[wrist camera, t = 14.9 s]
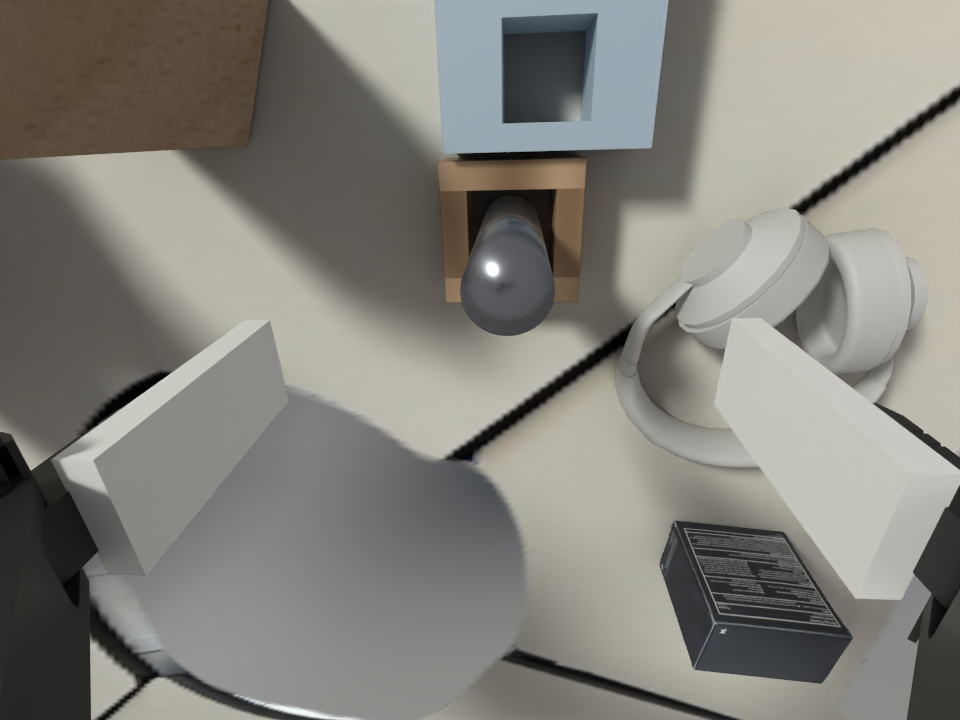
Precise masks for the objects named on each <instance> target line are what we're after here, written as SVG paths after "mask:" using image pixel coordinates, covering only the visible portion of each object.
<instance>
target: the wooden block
mask: <svg viewBox="0 0 960 720" xmlns="http://www.w3.org/2000/svg"><path fill="white" fill-rule="evenodd" d="M268 3H269V0H0V160H4V159H21V158H38V157H56V156H73V155H91V154H108V153H125V152H143V151H160V150H178V149H195V148H212V147H230V146H246V145H247V143H248V141H249V137H250V130H251V123H252V116H253V109H254V102H255V95H256V88H257V81H258V74H259V67H260V60H261V53H262V46H263V39H264V32H265V25H266V17H267V10H268Z"/></svg>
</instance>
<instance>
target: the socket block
mask: <svg viewBox="0 0 960 720" xmlns="http://www.w3.org/2000/svg"><path fill="white" fill-rule="evenodd" d="M434 1H435V19H436V37H437V55H438V73H439V91H440V110H441V128H442V146H443V154H451V153H488V152H526V151H563V150H601V149H638V148H652V140H653V132H654V123H655V114H656V106H657V97H658V88H659V79H660V71H661V62H662V53H663V45H664V36H665V27H666V18H667V10H668V1H669V0H434ZM571 31H586V38H585V56H584V74H583V92H582V110H581V121H567V122H535V123H504V35H505V34H527V33H549V32H571Z"/></svg>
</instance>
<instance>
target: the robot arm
mask: <svg viewBox="0 0 960 720" xmlns="http://www.w3.org/2000/svg"><path fill="white" fill-rule="evenodd" d="M287 403H288V397H287V392H286V388H285V384H284V379H283V375H282V371H281V366H280V362H279V357H278V353H277V349H276V344H275V340H274V336H273V331H272V327H271V323H270V320H245V321H243V322H242V323H240V324H239V325H238V326H236V327H235V328H233V329H232V330H231V331H229V332H228V333H226V334H225V335H224V336H222V337H221V338H219V339H218V340H217V341H215V342H214V343H213V344H211V345H210V346H208V347H207V348H206V349H204V350H203V351H201V352H200V353H199V354H197V355H196V356H194V357H193V358H192V359H190V360H189V361H187V362H186V363H185V364H183V365H182V366H180V367H179V368H178V369H176V370H175V371H173V372H172V373H171V374H169V375H168V376H167V377H165V378H164V379H162V380H161V381H160V382H158V383H157V384H155V385H154V386H153V387H151V388H150V389H148V390H147V391H146V392H144V393H143V394H141V395H140V396H139V397H137V398H136V399H134V400H133V401H132V402H130V403H129V404H128V405H126V406H124V407H122V408H120V409H118V410H116V411H114V412H113V413H112V414H110V415H109V416H107V417H106V418H105V419H103V420H102V421H100V422H99V423H97V426H93V427H92V428H90V429H89V430H88V431H86V432H85V433H83V434H82V437H78V438H76V439H75V440H74V441H72V442H71V443H69V444H68V445H67V446H65V447H64V448H62V449H61V450H60V451H58V452H57V453H55V454H54V455H53V456H51V457H50V458H48V459H47V460H45V461H44V462H43V463H41V464H40V465H38V466H37V467H36V468H34V469H33V470H31V471H30V469H29V467H28V465H27V463H26V461H25V460H24V458H23V456H22V454H21V452H20V450H19V448H18V446H17V445H16V443H15V441H14V439H13V437H12V435H11V434H7V433H4V432H0V720H91V690H90V611H89V580H88V578H87V576H86V574H85V572H84V570H83V568H82V567H83V566H84V565H85V564H86V563H87V562H88V561H89V560H90V559H91V558H92V557H93V556H94V555H95V554H96V553H97V552H98V554H99V556H100V558H101V560H102V562H103V564H104V566H105V568H106V570H107V572H108V574H110V575H140V576H141V575H143V576H146V575H147V574H148V573H149V571H150V570H151V569H152V568H153V566H154V565H155V564H156V563H157V562H158V560H159V559H160V558H161V557H162V555H163V554H164V553H165V552H166V551H167V549H168V548H169V547H170V546H171V545H172V543H173V542H174V541H175V540H176V538H177V537H178V536H179V535H180V534H181V532H182V531H183V530H184V529H185V527H186V526H187V525H188V524H189V523H190V521H191V520H192V519H193V518H194V516H195V515H196V514H197V513H198V512H199V510H200V509H201V508H202V507H203V505H204V504H205V503H206V502H207V501H208V499H209V498H210V497H211V496H212V495H213V493H214V492H215V491H216V490H217V488H218V487H219V486H220V485H221V484H222V482H223V481H224V480H225V479H226V477H227V476H228V475H229V474H230V473H231V471H232V470H233V469H234V468H235V466H236V465H237V464H238V463H239V461H240V460H241V459H242V458H243V457H244V455H245V454H246V453H247V452H248V450H249V449H250V448H251V447H252V445H253V444H254V443H255V442H256V441H257V439H258V438H259V437H260V436H261V435H262V433H263V432H264V431H265V430H266V429H267V427H268V426H269V425H270V424H271V422H272V421H273V420H274V419H275V417H276V416H277V415H278V414H279V413H280V411H281V410H282V409H283V408H284V406H285V405H286V404H287ZM714 406H715V407H716V408H717V410H718V411H719V412H720V414H721V415H722V417H723V418H724V419H725V421H726V422H727V423H728V425H729V426H730V427H731V429H732V430H733V432H734V433H735V434H736V436H737V437H738V438H739V440H740V441H741V443H742V444H743V445H744V447H745V448H746V449H747V451H748V452H749V454H750V455H751V456H752V458H753V459H754V460H755V462H756V463H757V464H758V466H759V467H760V469H761V470H762V471H763V473H764V474H765V475H766V477H767V478H768V480H769V481H770V482H771V484H772V485H773V486H774V488H775V489H776V491H777V492H778V493H779V495H780V496H781V497H782V499H783V500H784V502H785V503H786V504H787V506H788V507H789V508H790V510H791V511H792V512H793V514H794V515H795V517H796V518H797V519H798V521H799V522H800V523H801V525H802V526H803V528H804V529H805V530H806V532H807V533H808V534H809V536H810V537H811V539H812V540H813V541H814V543H815V544H816V545H817V547H818V548H819V549H820V551H821V552H822V554H823V555H824V556H825V558H826V559H827V560H828V562H829V563H830V565H831V566H832V567H833V569H834V570H835V571H836V573H837V574H838V576H839V577H840V578H841V580H842V581H843V582H844V584H845V585H846V586H847V588H848V589H849V591H850V592H851V593H852V595H853V596H854V597H855V599H882V600H902V598H903V596H904V594H905V592H906V590H907V588H908V586H909V584H910V582H911V580H912V578H913V576H914V574H915V575H916V577H918V579H919V580H920V581H921V582H922V583H923V584H924V585H925V586H926V588H927V589H928V590H929V591H930V592H931V593H932V594H931V596H930V598H929V600H928V602H927V604H926V605H925V607H924V609H923V611H922V613H921V615H920V617H919V619H918V620H917V622H916V624H915V626H914V628H913V629H912V632H911V633H910V635H909V637H908V639H909V640H911V641H913V642H915V643H916V642H917V641H918V639H919V643H918V649H917V656H916V662H915V670H914V676H913V682H912V690H911V696H910V702H909V709H908V716H907V720H960V457H959V456H957V455H956V454H954V453H953V452H952V451H950V450H949V449H948V448H946V447H941V445H940V444H941V443H939V442H938V441H937V440H935V439H934V438H933V437H931V436H930V435H929V434H924V433H923V430H922V429H920V428H919V427H918V426H916V425H915V424H914V423H912V422H911V421H910V420H908V419H907V418H905V417H904V416H903V415H900V414H898V413H896V412H894V411H892V410H890V409H888V408H885V407H883V406H881V405H879V404H877V403H871V402H870V401H869V400H867V399H866V398H865V397H863V396H862V395H861V394H859V393H858V392H857V391H856V390H854V389H853V388H852V387H850V386H849V385H848V384H846V383H845V382H844V381H842V380H841V379H840V378H839V377H837V376H836V375H835V374H833V373H832V372H831V371H829V370H828V369H827V368H825V367H824V366H823V365H822V364H820V363H819V362H818V361H816V360H815V359H814V358H812V357H811V356H810V355H808V354H807V353H806V352H804V351H803V350H802V349H801V348H799V347H798V346H797V345H795V344H794V343H793V342H791V341H790V340H789V339H787V338H786V337H785V336H784V335H782V334H781V333H780V332H778V331H777V330H776V329H774V328H773V327H772V326H770V325H769V324H768V323H766V322H765V321H764V320H763V319H761V318H732V320H731V325H730V330H729V335H728V339H727V344H726V349H725V354H724V359H723V363H722V368H721V373H720V378H719V382H718V387H717V392H716V397H715V401H714Z"/></svg>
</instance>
